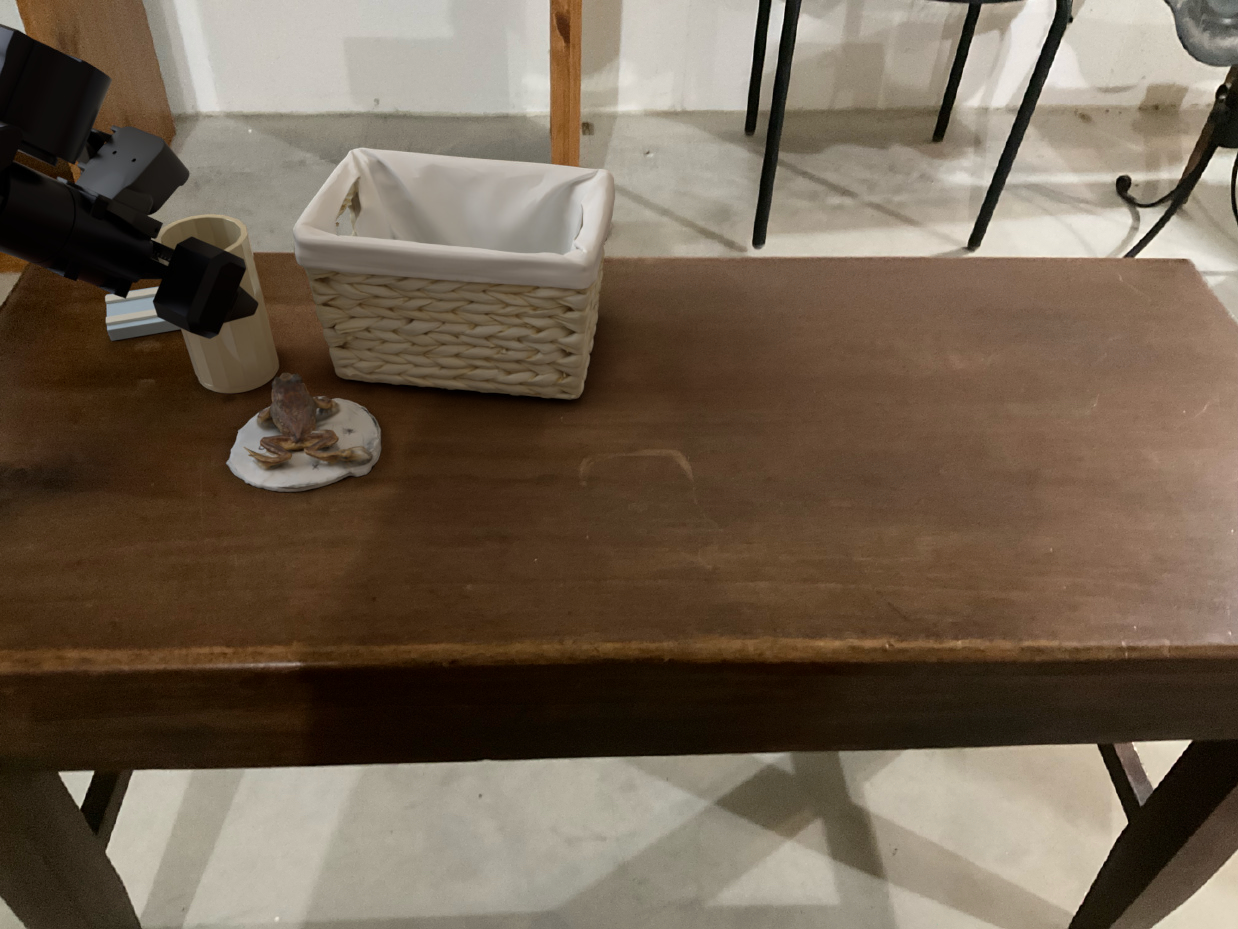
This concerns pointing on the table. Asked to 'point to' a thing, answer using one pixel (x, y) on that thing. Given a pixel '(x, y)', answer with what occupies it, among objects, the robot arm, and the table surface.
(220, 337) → the cup
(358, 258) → the basket
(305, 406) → the frog figurine
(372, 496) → the table surface
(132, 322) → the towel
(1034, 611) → the table surface
